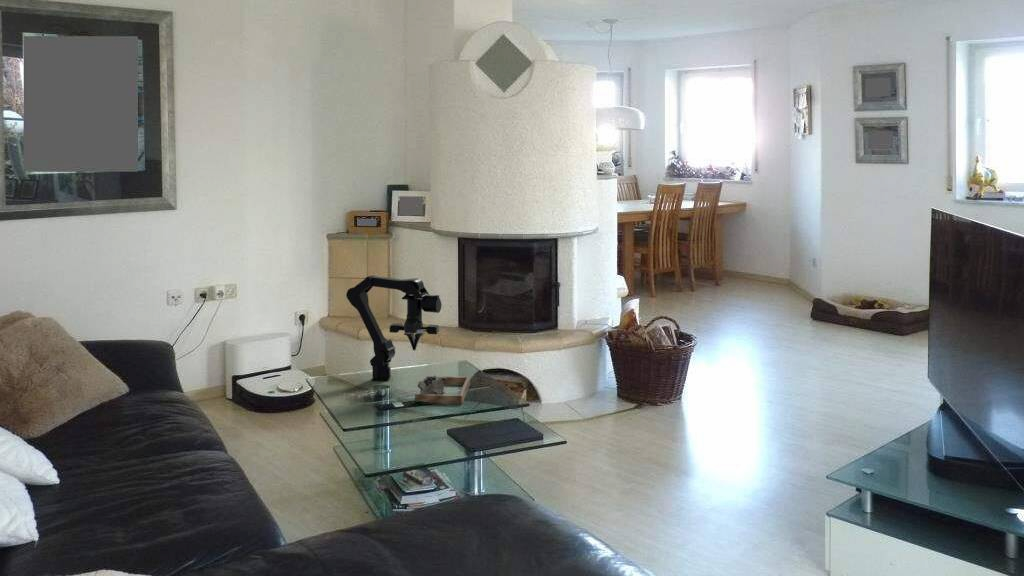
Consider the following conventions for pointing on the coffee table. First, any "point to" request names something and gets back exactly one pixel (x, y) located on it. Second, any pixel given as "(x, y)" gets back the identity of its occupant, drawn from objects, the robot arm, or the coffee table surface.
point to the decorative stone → (432, 385)
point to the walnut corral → (447, 398)
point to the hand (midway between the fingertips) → (414, 350)
